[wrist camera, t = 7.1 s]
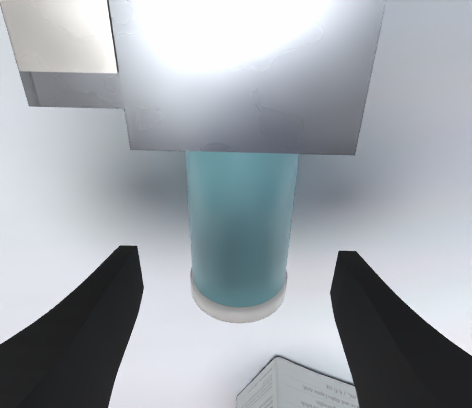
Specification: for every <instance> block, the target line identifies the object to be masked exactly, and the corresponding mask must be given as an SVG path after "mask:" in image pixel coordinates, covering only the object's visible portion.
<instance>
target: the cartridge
mask: <svg viewBox="0 0 472 408" xmlns="http://www.w3.org/2000/svg"><path fill="white" fill-rule="evenodd" d="M185 156H186V172H187V188H188V205H189V221H190V237H191V253H192V269H191V290H192V296H193V298H194V301H195V302H196V304H197V305H198V307H199V308H200V309H201V310H202V311H204V312H205V313H206V314H208V315H210V316H211V317H213V318H216V319H218V320H221V321H225V322H230V323H249V322H254V321H258V320H261V319H263V318H265V317H267V316H269V315H271V314H272V313H274V312H275V311H276V310H277V309H278V308H279V307H280V305H281V304H282V302H283V300H284V297H285V292H286V284H287V271H286V264H287V255H288V247H289V238H290V229H291V221H292V212H293V203H294V195H295V186H296V177H297V169H298V160H299V154H283V153H241V152H200V151H185Z"/></svg>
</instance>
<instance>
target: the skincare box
mask: <svg viewBox="0 0 472 408" xmlns="http://www.w3.org/2000/svg"><path fill="white" fill-rule="evenodd" d="M236 408H359V404H358V399H357V394H356V389H355V386H352V385H349V384H347V383H344V382H341V381H338V380H335V379H332V378H330V377H327V376H324V375H321V374H318V373H316V372H313V371H311V370H308V369H306V368H303V367H301V366H299V365H297V364H294V363H292V362H290V361H288V360H285V359H283V358H274V359H273V360H272V361H271V362H270V363H269V364H268V365H267V366H266V367H265V368H264V369H263V370H262V372H261V373H260V374H259V375H258V376H257V377H256V378H255V379H254V380H253V381H252V382H251V383H250V384H249V385H248V386H247V387H246V388H245V389H244V390H243V391H242V392H241V393H240V394H239V395H238V396H237V398H236Z"/></svg>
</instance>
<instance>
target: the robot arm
mask: <svg viewBox="0 0 472 408" xmlns="http://www.w3.org/2000/svg"><path fill="white" fill-rule="evenodd" d="M143 289H144V286H143V280H142V274H141V267H140V261H139V255H138V248H137V246H119V247H118V248H117V249H116V250H115V251H114V252H113V253H112V254H111V255H110V256H109V257H108V258H107V259H106V260H105V261H104V262H103V263H102V264H101V265H100V266H99V267H98V268H97V269H96V270H95V271H94V272H93V273H92V274H91V275H90V276H89V277H88V278H87V279H86V280H85V281H84V282H82V283H81V284H80V285H79V286H78V287H77V288H76V289H75V290H74V291H73V292H71V293H70V294H69V295H68V296H67V297H66V298H65V299H63V300H62V301H61V302H60V303H59V304H58V305H56V306H55V307H54V308H53V309H51V310H50V311H49V312H47V313H46V314H45V315H43V316H42V317H41V318H39V319H38V320H37V321H35V322H34V323H32V324H31V325H30V326H28V327H27V328H25V329H23V330H22V331H20V332H19V333H17V334H16V335H14V336H13V337H11V338H10V339H8V340H6V341H5V342H3V343H2V344H0V408H108V405H109V401H110V397H111V393H112V389H113V385H114V382H115V378H116V375H117V372H118V369H119V366H120V364H121V361H122V358H123V355H124V352H125V350H126V347H127V344H128V341H129V338H130V336H131V333H132V330H133V327H134V324H135V321H136V319H137V316H138V312H139V308H140V304H141V299H142V294H143ZM330 295H331V301H332V307H333V313H334V318H335V322H336V325H337V329H338V332H339V335H340V339H341V342H342V345H343V348H344V352H345V355H346V358H347V361H348V365H349V368H350V371H351V374H352V378H353V382H354V385H355V389H356V394H357V399H358V404H359V408H472V356H471V355H470V354H468V353H467V352H465V351H464V350H462V349H461V348H460V347H458V346H457V345H455V344H454V343H453V342H451V341H450V340H448V339H447V338H446V337H444V336H443V335H442V334H441V333H439V332H438V331H437V330H436V329H434V328H433V327H432V326H431V325H429V324H428V323H427V322H426V321H425V320H423V319H422V318H421V317H420V316H419V315H418V314H416V313H415V312H414V311H413V310H412V309H411V308H410V307H409V306H408V305H407V304H406V303H405V302H403V301H402V300H401V299H400V298H399V297H398V296H397V295H396V294H395V293H394V292H393V291H392V290H391V289H390V288H389V287H388V286H387V285H386V284H385V282H384V281H383V280H382V279H381V278H380V277H379V276H378V275H377V274H376V273H375V272H374V271H373V269H372V268H371V267H370V266H369V265H368V264H367V263H366V262H365V261H364V259H363V258H362V257H361V256H360V255H359V254H358V253H357V252H356V251H339V252H338V257H337V262H336V267H335V272H334V276H333V281H332V286H331V291H330Z"/></svg>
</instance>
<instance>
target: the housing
mask: <svg viewBox="0 0 472 408" xmlns="http://www.w3.org/2000/svg"><path fill="white" fill-rule="evenodd" d="M385 4H386V0H109V6H110V13H111V20H112V26H113V33H114V40H115V47H116V54H117V61H118V68H119V73H76V72H30V71H19V73H20V76H21V80H22V83H23V87H24V90H25V94H26V97H27V101H28V105H29V106H35V107H78V108H122V109H125V115H126V122H127V129H128V136H129V143H130V150H158V151H200V152H241V153H283V154H324V155H355V152H356V147H357V142H358V137H359V132H360V127H361V122H362V117H363V112H364V107H365V103H366V98H367V93H368V88H369V83H370V78H371V73H372V68H373V63H374V58H375V53H376V48H377V43H378V38H379V33H380V28H381V24H382V19H383V14H384V9H385ZM0 6H1V4H0ZM1 9H2V7H1ZM2 13H3V11H2ZM3 16H4V15H3ZM4 20H5V18H4ZM5 23H6V22H5ZM6 27H7V25H6ZM7 31H8V29H7ZM8 34H9V32H8ZM9 38H10V36H9ZM10 41H11V39H10ZM11 45H12V43H11ZM12 48H13V46H12ZM13 52H14V50H13ZM14 55H15V53H14ZM15 59H16V57H15ZM16 62H17V60H16ZM17 66H18V64H17ZM18 69H19V68H18Z"/></svg>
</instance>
